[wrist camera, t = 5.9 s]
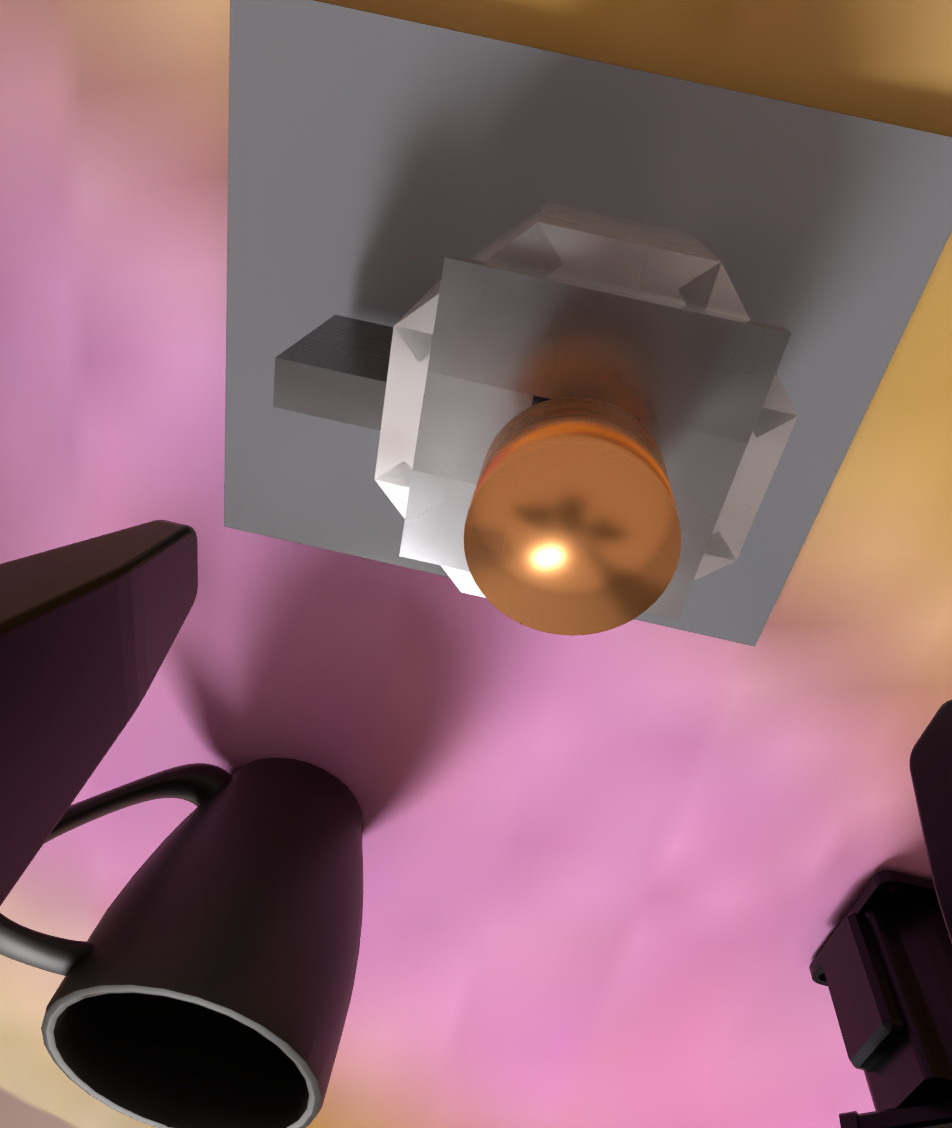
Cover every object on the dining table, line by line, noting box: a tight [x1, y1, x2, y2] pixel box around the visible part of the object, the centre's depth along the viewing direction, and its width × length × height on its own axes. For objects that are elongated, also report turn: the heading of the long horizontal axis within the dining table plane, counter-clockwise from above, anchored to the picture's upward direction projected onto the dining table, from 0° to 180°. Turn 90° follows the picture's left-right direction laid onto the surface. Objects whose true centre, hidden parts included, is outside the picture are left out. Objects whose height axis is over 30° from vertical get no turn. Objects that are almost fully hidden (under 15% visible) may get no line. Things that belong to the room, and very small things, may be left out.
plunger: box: [464, 395, 681, 635], centre depth 15 cm, size 5×5×8 cm
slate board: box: [224, 0, 952, 646], centre depth 19 cm, size 16×13×1 cm
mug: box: [0, 758, 363, 1128], centre depth 25 cm, size 8×12×10 cm
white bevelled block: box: [273, 201, 798, 619], centre depth 16 cm, size 10×8×5 cm
